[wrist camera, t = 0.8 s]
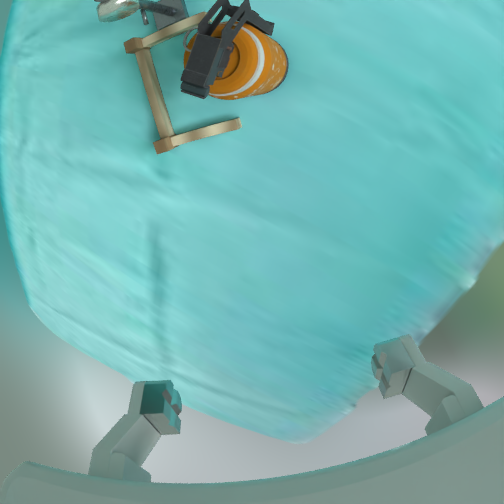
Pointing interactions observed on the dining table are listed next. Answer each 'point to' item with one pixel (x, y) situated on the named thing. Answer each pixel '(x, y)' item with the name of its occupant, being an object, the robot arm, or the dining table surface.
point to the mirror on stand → (143, 10)
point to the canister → (232, 55)
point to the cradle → (154, 91)
